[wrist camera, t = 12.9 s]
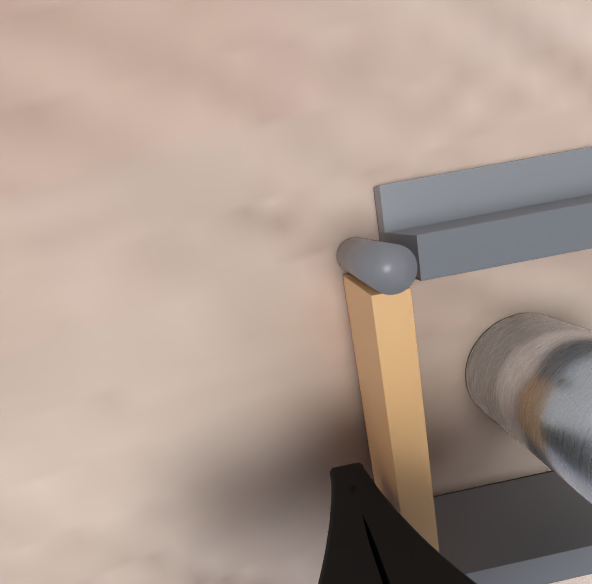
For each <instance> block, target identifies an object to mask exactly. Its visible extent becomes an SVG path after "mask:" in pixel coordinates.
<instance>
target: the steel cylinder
mask: <svg viewBox="0 0 592 584" xmlns="http://www.w3.org/2000/svg"><path fill="white" fill-rule="evenodd" d="M466 384H467V388H468V391H469V394H470V396H471V398H472V399H473V401H474V402H475V404H476V405H477V406H478V407H479V408H480V409H481V410H483V411H484V412H485V413H486V414H487V415H488V416H490V417H491V418H492V419H493V420H494V421H495V422H497V423H498V424H499V425H500V426H501V427H502V428H504V429H505V430H506V431H507V432H508V433H509V434H511V435H512V436H513V437H514V438H515V439H516V440H518V441H519V442H520V443H521V444H522V445H523V446H525V447H526V448H527V449H528V450H529V451H530V452H532V453H533V454H534V455H535V456H536V457H537V458H539V459H540V460H541V461H542V462H543V463H544V464H546V465H547V466H548V467H549V468H550V469H551V470H553V471H554V472H555V473H556V474H557V475H558V476H560V477H561V478H562V479H563V480H564V481H565V482H567V483H568V484H569V485H570V486H571V487H572V488H574V489H575V490H576V491H577V492H578V493H579V494H581V495H582V496H583V497H584V498H585V499H586V500H588V501H589V502H590V503H591V504H592V331H591V330H588V329H585V328H582V327H579V326H576V325H573V324H569V323H566V322H563V321H560V320H557V319H554V318H551V317H548V316H545V315H542V314H536V313H521V314H517V315H513V316H510V317H507V318H505V319H503V320H501V321H499V322H497V323H496V324H494V325H493V326H492V327H490V328H489V329H488V330H487V331H486V332H485V333H484V334H483V335H482V336H481V337H480V338H479V340H478V341H477V342H476V344H475V346H474V347H473V349H472V351H471V354H470V356H469V359H468V362H467V367H466Z"/></svg>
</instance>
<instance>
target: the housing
mask: <svg viewBox="0 0 592 584" xmlns="http://www.w3.org/2000/svg"><path fill="white" fill-rule="evenodd" d="M374 195H375V203H376V211H377V219H378V228H379V236H380V241H381V242H387V243H393V244H399V245H402V246H405V247H406V248H408V249H409V250H410V251H411V252H412V253H413V254H414V256H415V258H416V261H417V275H416V278H415V279H417V280H420V281H424V280H429V279H434V278H439V277H445V276H450V275H455V274H460V273H465V272H471V271H476V270H481V269H486V268H491V267H497V266H502V265H507V264H512V263H517V262H522V261H528V260H533V259H538V258H543V257H548V256H554V255H559V254H564V253H569V252H574V251H580V250H585V249H590V248H592V147H588V148H583V149H577V150H571V151H566V152H560V153H555V154H549V155H544V156H538V157H533V158H527V159H522V160H516V161H511V162H505V163H500V164H494V165H489V166H483V167H478V168H472V169H467V170H461V171H456V172H450V173H445V174H439V175H434V176H428V177H423V178H417V179H412V180H406V181H401V182H395V183H389V184H384V185H379V186H376V187H374ZM433 499H434V508H435V517H436V526H437V536H438V545H439V553H440V554H441V555H442V556H444V557H445V558H446V559H447V560H448V561H449V562H451V563H452V564H453V565H454V566H455V567H456V568H458V569H459V570H460V571H461V572H463V573H464V574H465V575H467V576H468V577H469V578H470V579H472V580H473V581H474V582H476V583H477V584H549V583H553V582H558V581H562V580H567V579H571V578H575V577H580V576H584V575H588V574H592V504H591V503H590V502H589V501H588V500H586V499H585V498H584V497H583V496H582V495H581V494H579V493H578V492H577V491H576V490H575V489H574V488H572V487H571V486H570V485H569V484H568V483H567V482H565V481H564V480H563V479H562V478H561V477H560V476H558V475H557V474H556V473H555V472H554V471H552V472H548V473H543V474H538V475H534V476H529V477H525V478H520V479H515V480H511V481H506V482H501V483H497V484H492V485H488V486H483V487H478V488H474V489H469V490H464V491H460V492H455V493H451V494H446V495H441V496H437V497H433Z"/></svg>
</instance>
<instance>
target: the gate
mask: <svg viewBox="0 0 592 584" xmlns="http://www.w3.org/2000/svg"><path fill="white" fill-rule="evenodd" d="M337 260H338V263H339V265H340V266H341V268H342V269H344V270H345V271H347V272H348V273H350V274H347V275H343V280H344V287H345V293H346V300H347V306H348V313H349V319H350V326H351V332H352V339H353V345H354V352H355V359H356V365H357V372H358V378H359V385H360V391H361V398H362V404H363V411H364V417H365V424H366V431H367V437H368V444H369V450H370V457H371V463H372V470H373V476H374V483H375V484H376V486H377V487H378V488H379V490H380V491H381V492H382V493H383V495H384V496H385V497H386V498H387V499H388V501H389V502H390V503H391V504H392V505H393V506H394V508H395V509H396V510H397V511H398V512H399V513H400V514H401V515H402V517H403V518H404V519H405V520H406V521H407V522H408V523H409V524H410V525H411V526H412V527H413V528H414V529H415V530H416V531H417V532H418V533H419V534H420V535H421V536H422V537H423V538H424V539H425V540H426V541H427V542H428V543H429V544H430V545H431V546H432V547H434V548H435V549H436V550H437V551H438V552H439V545H438V536H437V526H436V517H435V508H434V499H433V490H432V480H431V471H430V462H429V453H428V444H427V434H426V425H425V416H424V407H423V398H422V388H421V379H420V370H419V361H418V352H417V342H416V333H415V324H414V315H413V305H412V296H411V288H409V287H410V286H411V285H412V283H413V282H414V280H415V278H416V275H417V261H416V258H415V256H414V254H413V253H412V252H411V251H410V250H409V249H408V248H406V247H405V246H402V245H399V244H393V243H387V242H381V241H374V240H368V239H362V238H350V239H347V240H346V241H344V242H343V243H342V244H341V245H340V247H339V249H338V252H337Z"/></svg>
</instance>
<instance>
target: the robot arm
mask: <svg viewBox="0 0 592 584" xmlns="http://www.w3.org/2000/svg"><path fill="white" fill-rule="evenodd" d="M330 476H331V486H332V495H331V512H330V523H329V530H328V537H327V544H326V550H325V555H324V560H323V565H322V570H321V574H320V578H319V583H318V584H477V583H476V582H474V581H473V580H472V579H470V578H469V577H468V576H467V575H465V574H464V573H463V572H461V571H460V570H459V569H458V568H456V567H455V566H454V565H453V564H452V563H451V562H449V561H448V560H447V559H446V558H445V557H444V556H442V555H441V554H440V553H439V552H438V551H437V550H436V549H435V548H434V547H432V546H431V545H430V544H429V543H428V542H427V541H426V540H425V539H424V538H423V537H422V536H421V535H420V534H419V533H418V532H417V531H416V530H415V529H414V528H413V527H412V526H411V525H410V524H409V523H408V522H407V521H406V520H405V519H404V518H403V517H402V515H401V514H400V513H399V512H398V511H397V510H396V509H395V508H394V506H393V505H392V504H391V503H390V502H389V501H388V499H387V498H386V497H385V496H384V495H383V493H382V492H381V491H380V490H379V488H378V487H377V486H376V484H375V483H374V482H373V480H372V479H371V478H370V476H369V475H368V473H367V472H366V470H365V469H364V467H363V465H362V464H360V463H354V464H349V465H344V466H340V467H335V468H332V469H331V470H330Z"/></svg>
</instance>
